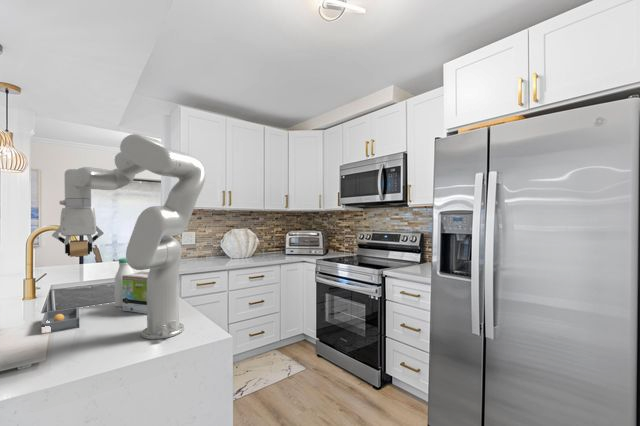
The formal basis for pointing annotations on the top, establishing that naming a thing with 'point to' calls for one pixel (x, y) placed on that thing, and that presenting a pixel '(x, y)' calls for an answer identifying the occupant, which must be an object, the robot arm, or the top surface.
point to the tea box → (135, 292)
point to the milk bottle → (122, 271)
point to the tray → (68, 323)
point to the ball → (58, 317)
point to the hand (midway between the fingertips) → (79, 254)
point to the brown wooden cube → (79, 248)
